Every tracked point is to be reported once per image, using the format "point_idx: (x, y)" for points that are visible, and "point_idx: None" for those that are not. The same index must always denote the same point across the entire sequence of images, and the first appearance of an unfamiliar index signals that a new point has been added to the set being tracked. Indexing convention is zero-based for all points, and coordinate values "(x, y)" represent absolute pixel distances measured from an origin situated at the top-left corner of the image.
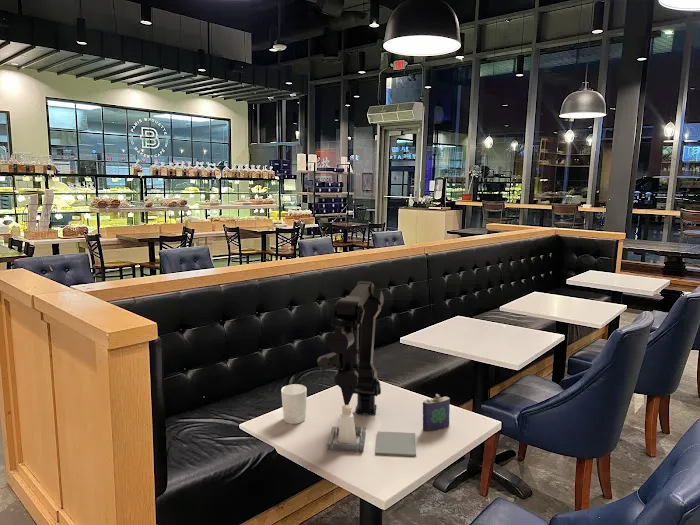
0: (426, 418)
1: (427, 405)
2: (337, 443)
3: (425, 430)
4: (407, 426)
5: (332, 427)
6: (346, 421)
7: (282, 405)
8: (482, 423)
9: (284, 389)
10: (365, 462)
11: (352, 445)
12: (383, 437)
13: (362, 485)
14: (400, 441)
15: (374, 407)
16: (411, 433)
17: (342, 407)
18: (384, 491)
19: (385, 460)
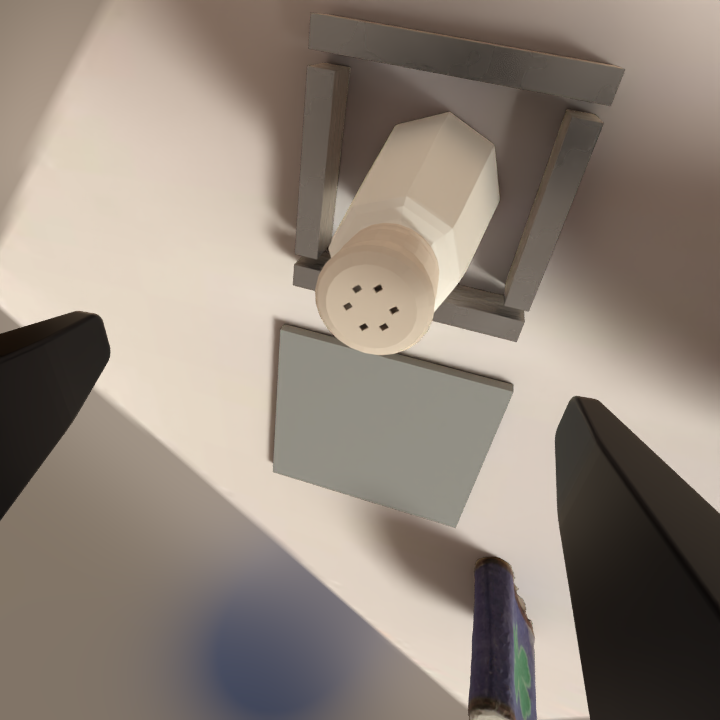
0: (475, 623)
1: (469, 701)
2: (318, 108)
3: (478, 563)
4: (551, 522)
5: (611, 71)
6: (333, 236)
7: None
8: None
9: None
10: (211, 260)
11: (298, 218)
12: (435, 400)
13: (29, 214)
14: (382, 455)
15: None
16: (453, 515)
17: (357, 251)
18: (23, 296)
19: (238, 352)
